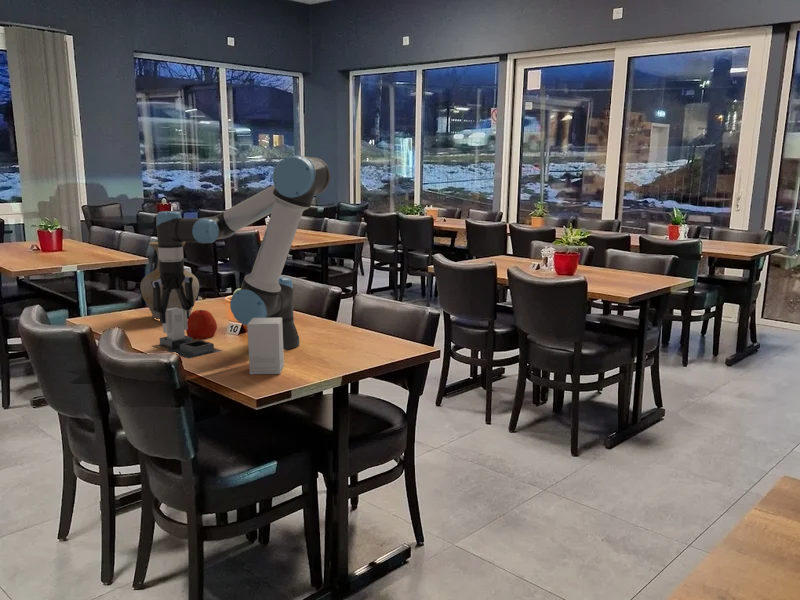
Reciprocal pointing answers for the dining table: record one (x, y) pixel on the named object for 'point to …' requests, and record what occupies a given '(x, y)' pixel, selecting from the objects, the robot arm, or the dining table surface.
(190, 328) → the apple
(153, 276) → the vase
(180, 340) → the grey double tray
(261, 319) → the supplement box
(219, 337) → the dining table surface
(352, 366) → the dining table surface
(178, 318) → the plug
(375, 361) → the dining table surface
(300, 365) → the dining table surface
